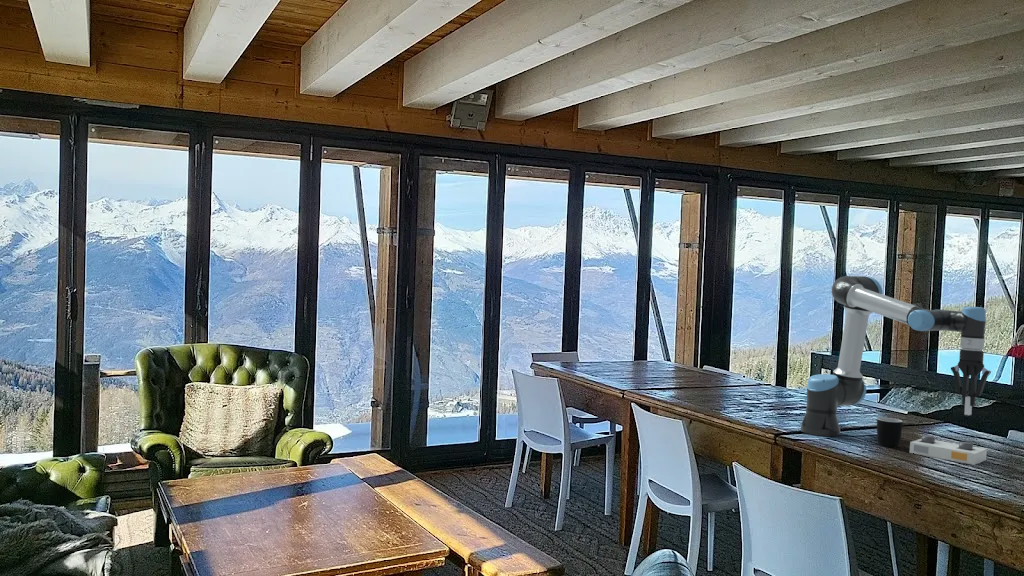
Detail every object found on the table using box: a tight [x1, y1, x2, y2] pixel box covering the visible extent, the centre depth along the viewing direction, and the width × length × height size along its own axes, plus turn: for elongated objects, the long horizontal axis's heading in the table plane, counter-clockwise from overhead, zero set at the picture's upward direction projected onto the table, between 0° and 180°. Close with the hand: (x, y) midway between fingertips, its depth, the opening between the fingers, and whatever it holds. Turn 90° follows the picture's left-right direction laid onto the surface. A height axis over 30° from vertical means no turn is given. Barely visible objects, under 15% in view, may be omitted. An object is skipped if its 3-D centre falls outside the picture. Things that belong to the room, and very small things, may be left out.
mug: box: [876, 417, 904, 449], centre depth 325 cm, size 12×9×10 cm
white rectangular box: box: [909, 438, 988, 466], centre depth 310 cm, size 22×13×4 cm, turn 44°
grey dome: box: [958, 441, 974, 451], centre depth 305 cm, size 4×4×3 cm
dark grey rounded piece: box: [921, 434, 936, 444], centre depth 315 cm, size 4×4×3 cm
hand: (967, 414), depth 305 cm, fingers closed
